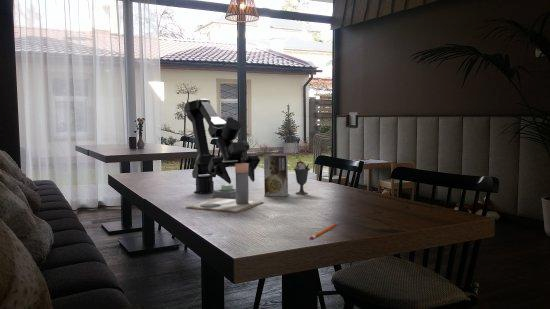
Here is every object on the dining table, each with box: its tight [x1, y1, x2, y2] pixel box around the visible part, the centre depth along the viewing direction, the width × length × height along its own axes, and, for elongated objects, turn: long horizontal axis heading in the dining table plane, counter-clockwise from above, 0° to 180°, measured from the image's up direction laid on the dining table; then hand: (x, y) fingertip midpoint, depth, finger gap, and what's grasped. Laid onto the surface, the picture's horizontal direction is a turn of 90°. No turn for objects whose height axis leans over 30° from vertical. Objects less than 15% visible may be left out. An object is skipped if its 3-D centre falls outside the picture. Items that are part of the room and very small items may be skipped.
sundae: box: [293, 156, 311, 196], centre depth 181 cm, size 7×7×15 cm
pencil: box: [309, 222, 339, 240], centre depth 121 cm, size 1×19×1 cm, turn 151°
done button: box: [221, 183, 234, 192], centre depth 175 cm, size 4×4×2 cm
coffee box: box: [263, 153, 289, 197], centre depth 178 cm, size 9×6×16 cm
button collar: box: [212, 188, 236, 199], centre depth 175 cm, size 8×8×2 cm
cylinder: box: [234, 163, 250, 205], centre depth 157 cm, size 5×5×14 cm
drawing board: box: [185, 198, 264, 214], centre depth 157 cm, size 20×19×1 cm
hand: (242, 182), depth 157 cm, fingers open, 9 cm apart
